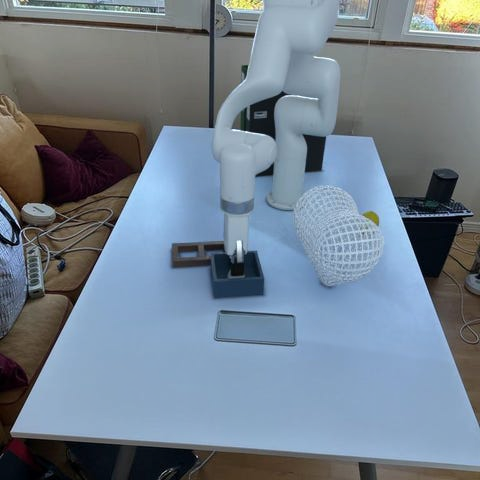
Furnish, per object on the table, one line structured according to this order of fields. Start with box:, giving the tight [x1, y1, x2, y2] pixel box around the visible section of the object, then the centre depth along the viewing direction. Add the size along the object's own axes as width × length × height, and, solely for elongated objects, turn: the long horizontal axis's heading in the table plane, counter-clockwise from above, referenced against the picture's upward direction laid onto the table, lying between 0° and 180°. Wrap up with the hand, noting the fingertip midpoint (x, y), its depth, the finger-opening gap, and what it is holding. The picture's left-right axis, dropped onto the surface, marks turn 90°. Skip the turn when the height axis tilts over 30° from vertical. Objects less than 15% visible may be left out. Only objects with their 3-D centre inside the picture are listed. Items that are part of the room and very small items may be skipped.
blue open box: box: [209, 250, 265, 299], centre depth 116 cm, size 12×12×5 cm
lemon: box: [360, 210, 380, 237], centre depth 133 cm, size 6×6×8 cm
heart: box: [292, 185, 385, 287], centre depth 111 cm, size 28×16×22 cm, turn 14°
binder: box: [240, 64, 327, 178], centre depth 159 cm, size 27×15×32 cm, turn 102°
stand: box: [171, 240, 226, 269], centre depth 125 cm, size 9×16×2 cm, turn 97°
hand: (236, 269), depth 115 cm, fingers open, 3 cm apart
